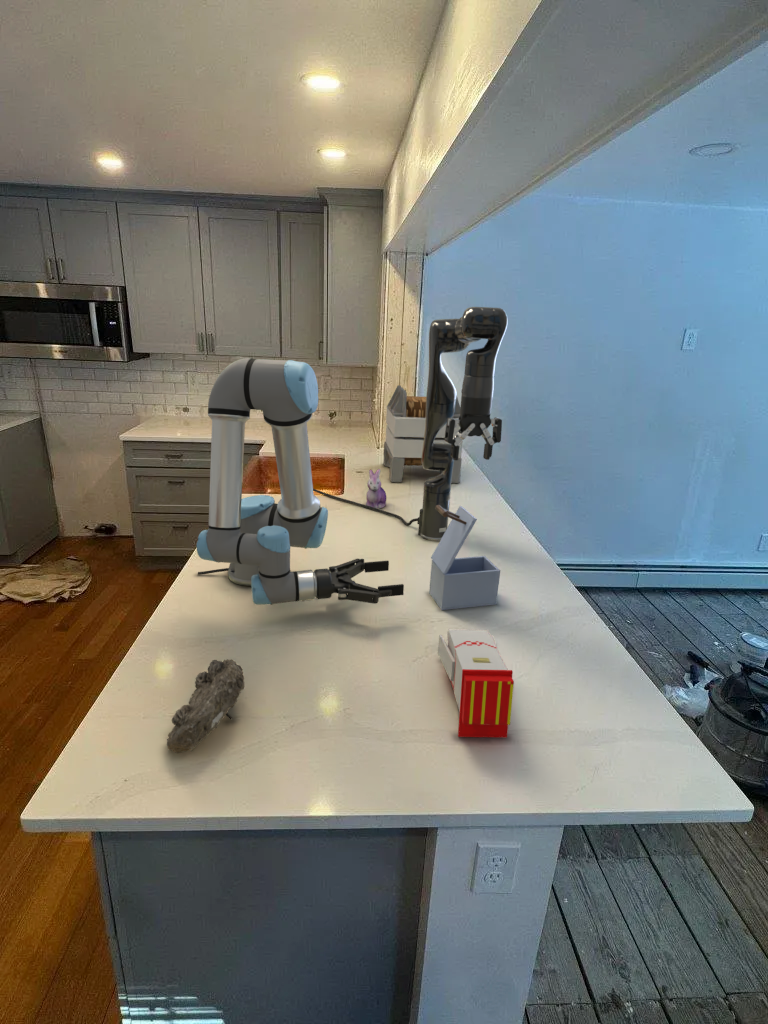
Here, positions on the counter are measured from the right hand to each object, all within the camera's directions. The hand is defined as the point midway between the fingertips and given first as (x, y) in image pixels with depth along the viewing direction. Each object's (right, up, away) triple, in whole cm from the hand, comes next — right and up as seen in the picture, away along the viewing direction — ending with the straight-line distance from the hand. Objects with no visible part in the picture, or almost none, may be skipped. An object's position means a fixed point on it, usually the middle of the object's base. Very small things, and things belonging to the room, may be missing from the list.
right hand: (470, 459), depth 143 cm
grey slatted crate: (-5, +5, +132) cm, 132 cm away
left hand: (-19, -30, +5) cm, 36 cm away
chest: (0, -37, +14) cm, 40 cm away
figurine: (-25, -11, +84) cm, 88 cm away
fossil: (-55, -52, -35) cm, 83 cm away
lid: (-3, -21, +7) cm, 22 cm away
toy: (-4, -51, -24) cm, 57 cm away
